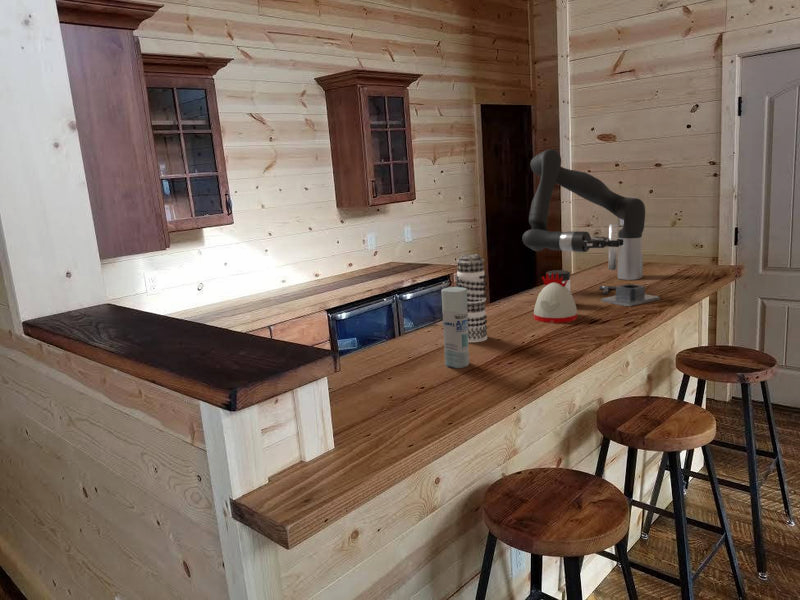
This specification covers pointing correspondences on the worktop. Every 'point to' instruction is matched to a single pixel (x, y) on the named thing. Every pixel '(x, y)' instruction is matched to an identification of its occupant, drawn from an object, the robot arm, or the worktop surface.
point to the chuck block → (630, 296)
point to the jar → (561, 273)
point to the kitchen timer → (555, 302)
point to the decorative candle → (474, 294)
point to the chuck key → (607, 288)
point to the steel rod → (612, 248)
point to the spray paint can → (455, 326)
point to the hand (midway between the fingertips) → (621, 243)
